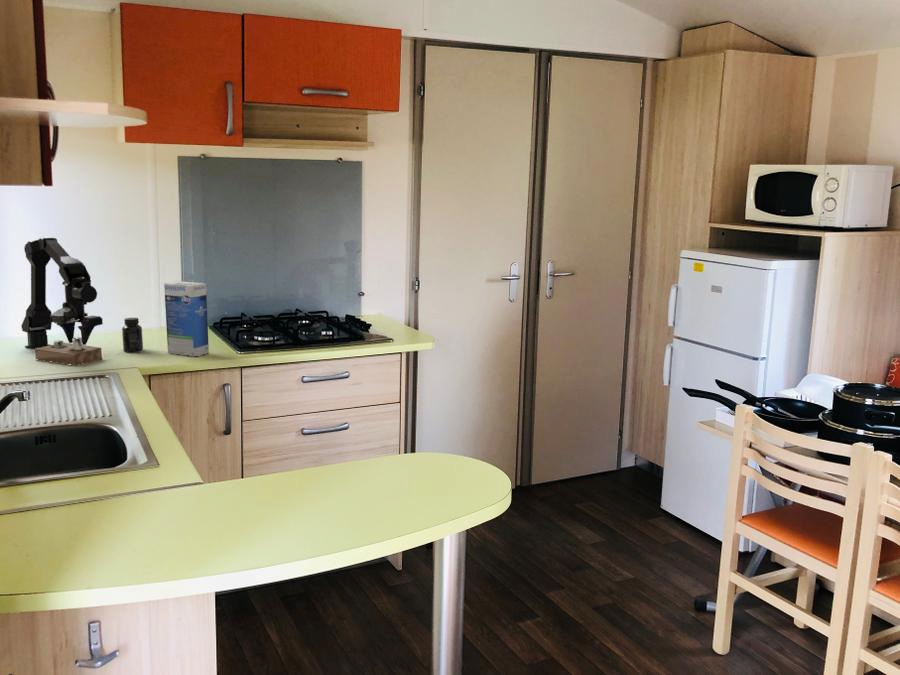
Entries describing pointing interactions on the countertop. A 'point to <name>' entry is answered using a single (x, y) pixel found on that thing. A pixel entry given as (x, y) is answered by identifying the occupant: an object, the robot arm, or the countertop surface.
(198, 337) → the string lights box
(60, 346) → the short grey peg
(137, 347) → the supplement bottle
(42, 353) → the hole block
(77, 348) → the steel pin
